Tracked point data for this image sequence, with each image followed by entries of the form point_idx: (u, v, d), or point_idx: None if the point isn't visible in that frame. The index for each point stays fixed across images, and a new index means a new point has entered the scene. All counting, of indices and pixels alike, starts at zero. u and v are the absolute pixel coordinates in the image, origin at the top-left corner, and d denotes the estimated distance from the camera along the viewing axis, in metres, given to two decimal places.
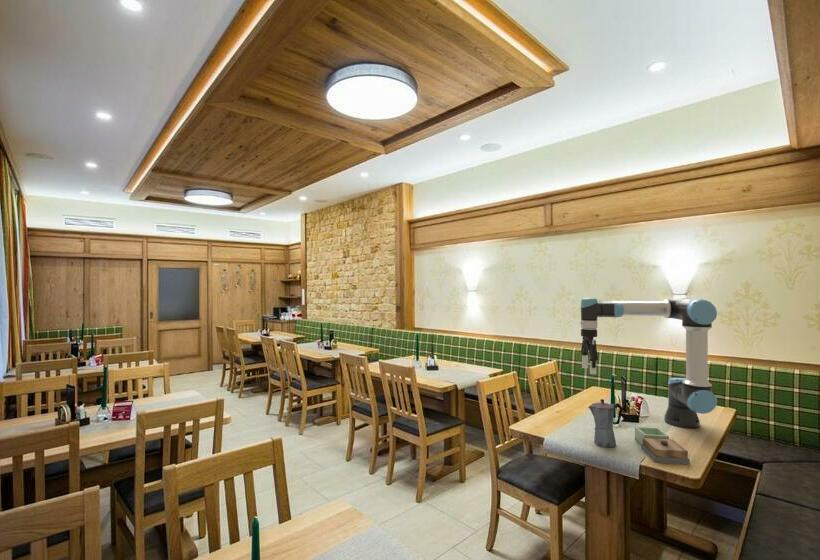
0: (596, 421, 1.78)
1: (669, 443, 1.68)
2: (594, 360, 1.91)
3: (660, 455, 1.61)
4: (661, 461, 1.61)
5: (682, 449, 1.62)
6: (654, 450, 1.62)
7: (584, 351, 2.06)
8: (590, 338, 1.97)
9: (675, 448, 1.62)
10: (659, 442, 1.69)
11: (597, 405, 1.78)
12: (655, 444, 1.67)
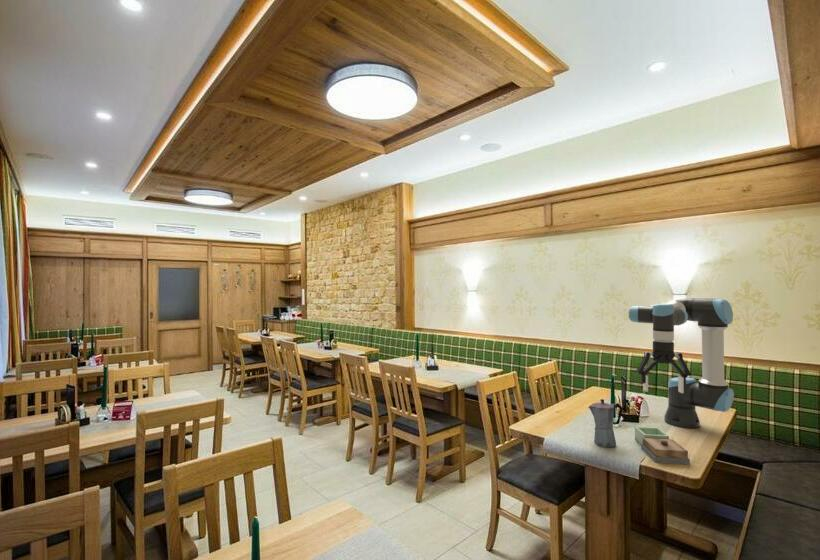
0: (596, 421, 1.78)
1: (669, 443, 1.68)
2: (639, 373, 1.69)
3: (660, 455, 1.61)
4: (661, 461, 1.61)
5: (682, 449, 1.62)
6: (654, 450, 1.62)
7: (676, 370, 1.67)
8: (653, 350, 1.68)
9: (675, 448, 1.62)
10: (659, 442, 1.69)
11: (597, 405, 1.78)
12: (655, 444, 1.67)
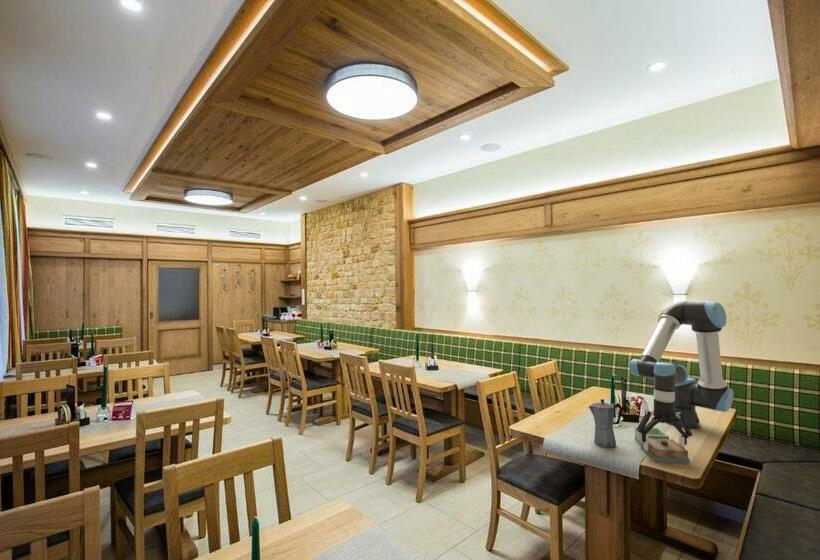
0: (596, 421, 1.78)
1: (669, 443, 1.68)
2: None
3: (660, 455, 1.61)
4: (661, 461, 1.61)
5: (682, 449, 1.62)
6: (654, 450, 1.62)
7: None
8: (654, 409, 1.68)
9: (675, 448, 1.62)
10: (659, 442, 1.69)
11: (597, 405, 1.78)
12: (655, 444, 1.67)
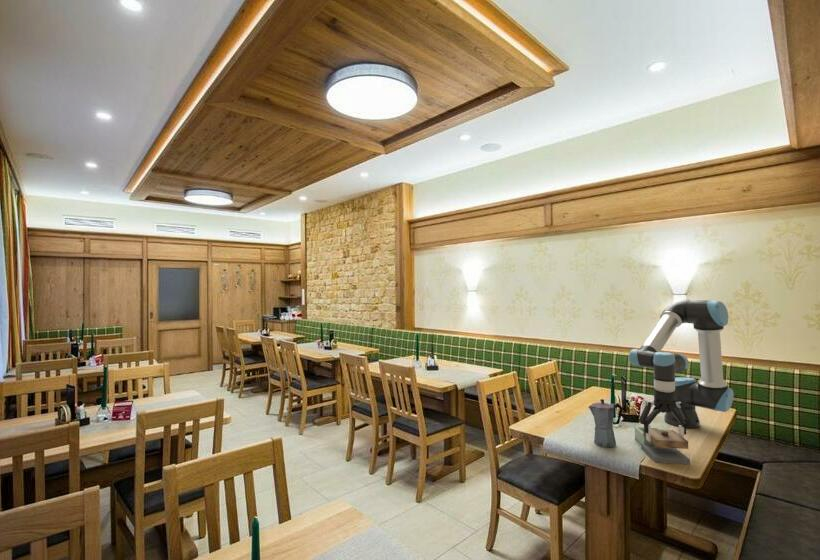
0: (596, 421, 1.78)
1: (669, 433, 1.68)
2: None
3: (660, 446, 1.62)
4: (661, 461, 1.61)
5: (682, 439, 1.62)
6: (655, 441, 1.63)
7: (677, 419, 1.67)
8: (654, 399, 1.68)
9: (676, 439, 1.63)
10: (659, 433, 1.69)
11: (597, 405, 1.78)
12: (655, 435, 1.67)
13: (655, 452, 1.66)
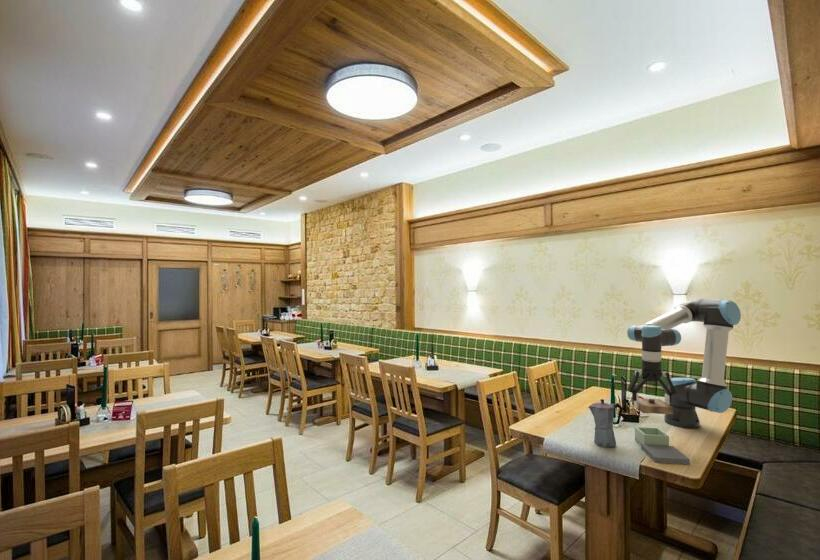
0: (596, 421, 1.78)
1: (656, 401, 1.80)
2: (630, 391, 1.80)
3: (647, 411, 1.73)
4: (661, 461, 1.61)
5: (668, 406, 1.73)
6: (642, 407, 1.74)
7: (663, 388, 1.78)
8: (642, 369, 1.80)
9: (661, 405, 1.74)
10: (647, 401, 1.80)
11: (597, 405, 1.78)
12: (642, 402, 1.78)
13: (655, 452, 1.66)
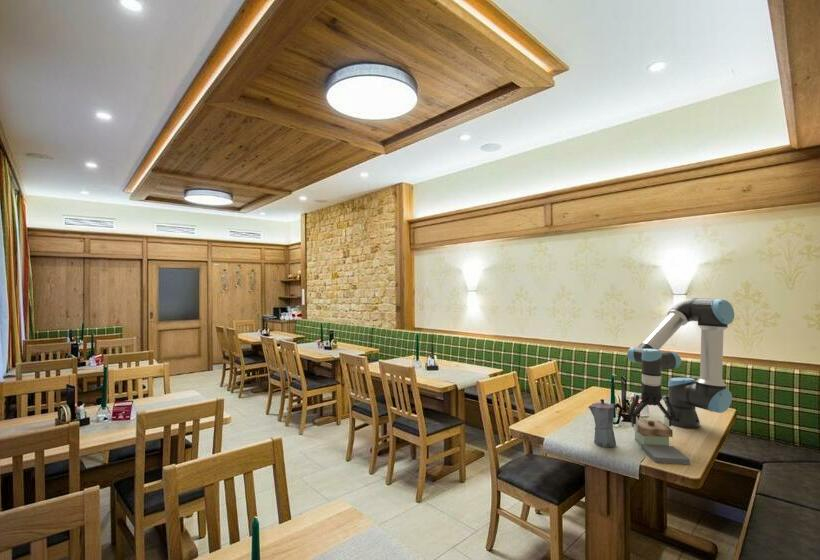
0: (596, 421, 1.78)
1: (655, 423, 1.80)
2: (630, 415, 1.80)
3: (647, 434, 1.73)
4: (661, 461, 1.61)
5: (667, 428, 1.73)
6: (641, 430, 1.74)
7: (663, 412, 1.78)
8: None
9: (661, 428, 1.74)
10: (646, 423, 1.80)
11: (597, 405, 1.78)
12: (642, 424, 1.79)
13: (655, 452, 1.66)
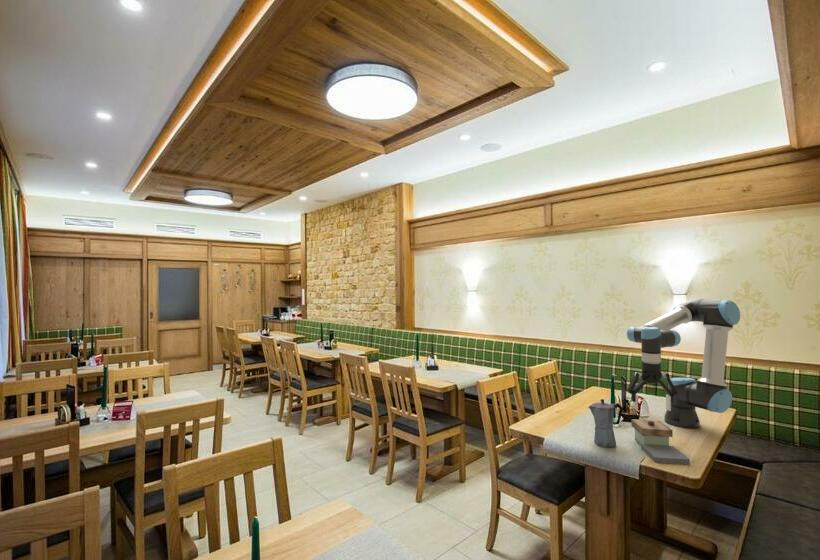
0: (596, 421, 1.78)
1: (655, 423, 1.80)
2: (629, 392, 1.80)
3: (647, 434, 1.73)
4: (661, 461, 1.61)
5: (667, 428, 1.73)
6: (641, 430, 1.74)
7: (664, 389, 1.79)
8: (642, 371, 1.80)
9: (661, 428, 1.74)
10: (646, 423, 1.80)
11: (597, 405, 1.78)
12: (642, 424, 1.79)
13: (655, 452, 1.66)
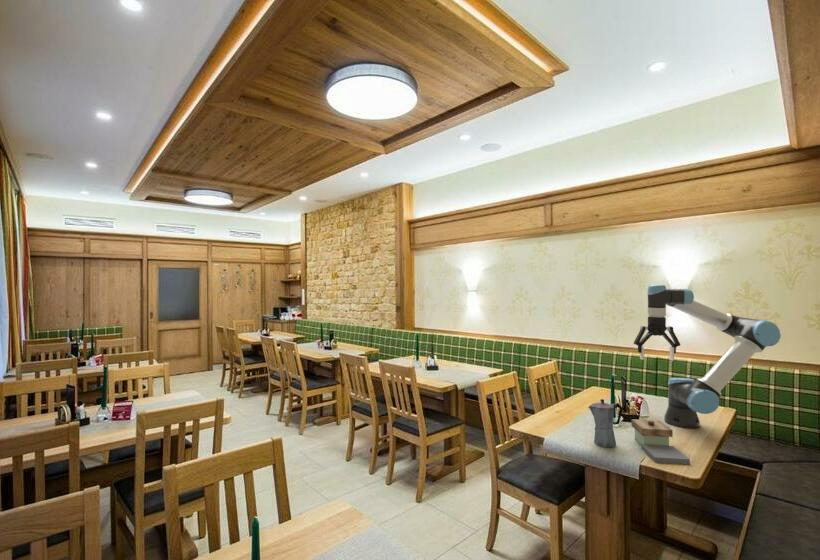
0: (596, 421, 1.78)
1: (655, 423, 1.80)
2: (636, 344, 1.97)
3: (647, 434, 1.73)
4: (661, 461, 1.61)
5: (667, 428, 1.73)
6: (641, 430, 1.74)
7: (668, 341, 1.95)
8: (648, 325, 1.96)
9: (661, 428, 1.74)
10: (646, 423, 1.80)
11: (597, 405, 1.78)
12: (642, 424, 1.79)
13: (655, 452, 1.66)
